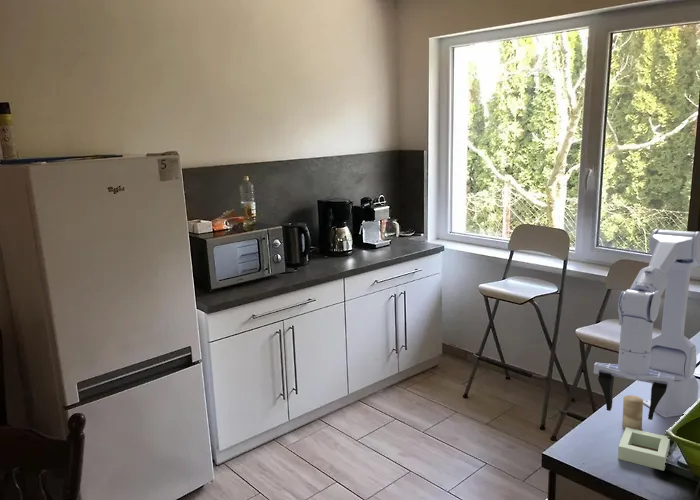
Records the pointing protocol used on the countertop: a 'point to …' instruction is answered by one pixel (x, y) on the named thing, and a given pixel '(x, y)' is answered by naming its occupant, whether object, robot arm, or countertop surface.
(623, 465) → the countertop surface
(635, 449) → the socket
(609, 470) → the countertop surface
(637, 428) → the peg
